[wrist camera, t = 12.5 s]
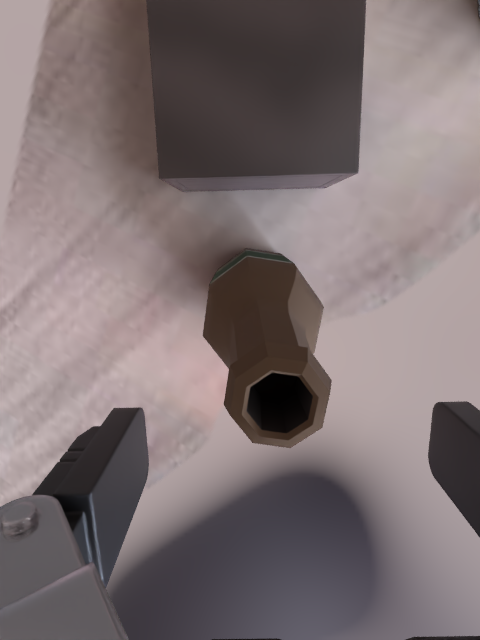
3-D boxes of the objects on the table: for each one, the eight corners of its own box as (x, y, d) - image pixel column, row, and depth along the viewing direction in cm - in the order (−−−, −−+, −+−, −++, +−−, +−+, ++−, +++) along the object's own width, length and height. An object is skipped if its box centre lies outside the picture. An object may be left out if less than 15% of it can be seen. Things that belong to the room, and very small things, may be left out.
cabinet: (171, -4, 30) (138, -106, 21) (331, -9, 30) (371, -115, 21) (182, 191, 34) (159, 179, 24) (326, 187, 33) (358, 173, 24)
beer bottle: (198, 302, 36) (117, 442, 13) (241, 229, 34) (238, 235, 11) (269, 343, 37) (313, 544, 14) (314, 274, 35) (452, 367, 12)
